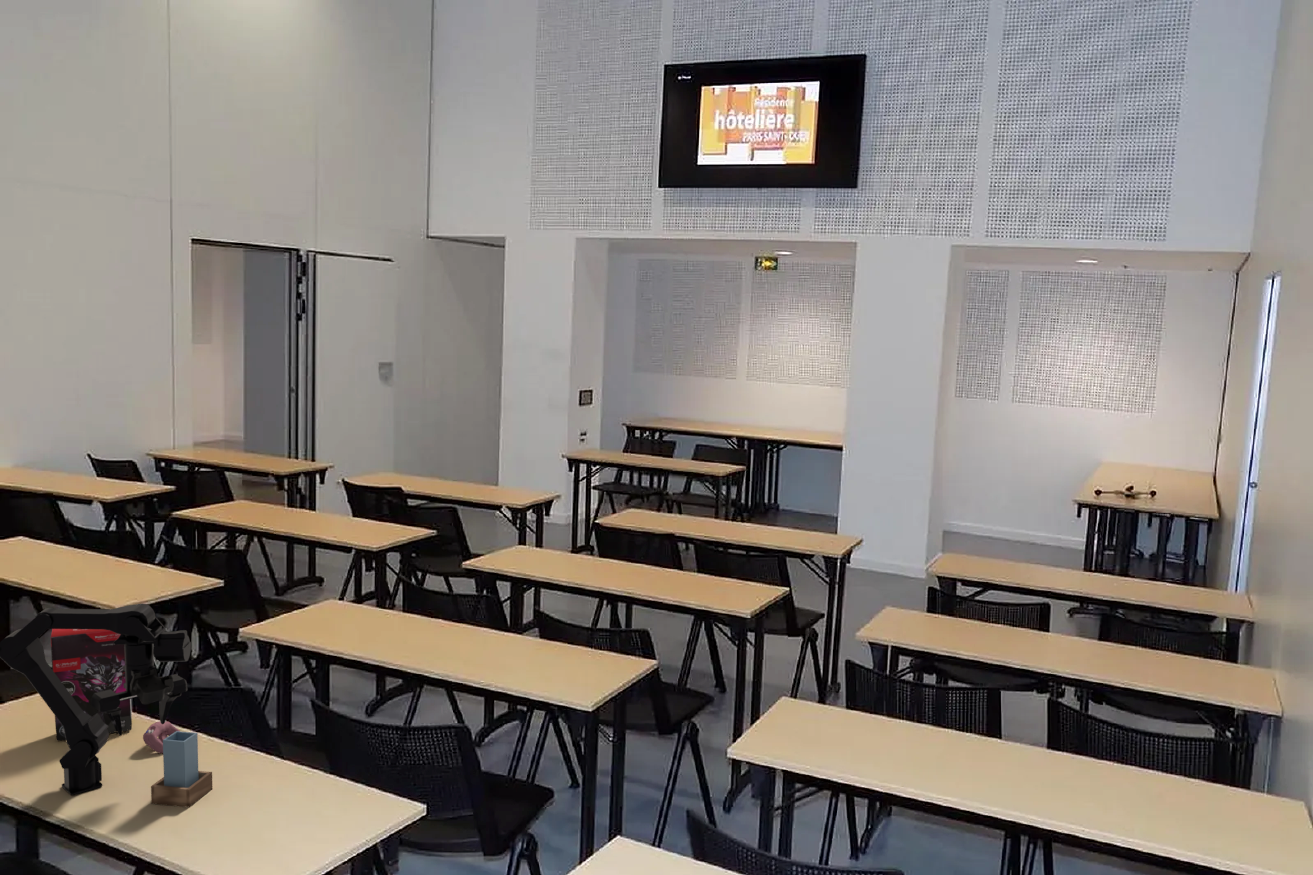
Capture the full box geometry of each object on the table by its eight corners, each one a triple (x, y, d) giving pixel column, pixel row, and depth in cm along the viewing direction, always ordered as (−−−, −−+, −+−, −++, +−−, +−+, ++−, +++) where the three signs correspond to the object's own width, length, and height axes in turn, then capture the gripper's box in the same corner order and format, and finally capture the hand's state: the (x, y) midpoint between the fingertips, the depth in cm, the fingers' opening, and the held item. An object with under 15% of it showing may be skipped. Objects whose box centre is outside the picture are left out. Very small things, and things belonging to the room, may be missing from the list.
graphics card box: (54, 743, 255) (49, 635, 252) (55, 732, 261) (51, 627, 258) (132, 732, 263) (128, 627, 260) (131, 722, 269) (128, 619, 266)
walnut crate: (151, 803, 226) (150, 786, 225) (175, 785, 235) (175, 768, 234) (189, 807, 225) (189, 789, 224) (212, 789, 234) (212, 772, 233)
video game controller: (169, 743, 261) (156, 719, 260) (185, 736, 260) (172, 712, 260) (149, 760, 251) (136, 735, 250) (166, 753, 250) (152, 727, 250)
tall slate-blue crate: (164, 797, 227) (162, 740, 226) (177, 786, 232) (176, 731, 231) (185, 799, 227) (184, 741, 225) (198, 788, 232) (197, 732, 230)
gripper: (108, 681, 219) (111, 752, 221) (197, 661, 233) (198, 728, 235) (89, 668, 227) (91, 736, 228) (175, 649, 240) (177, 714, 242)
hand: (141, 729), depth 233 cm, fingers open, 9 cm apart
